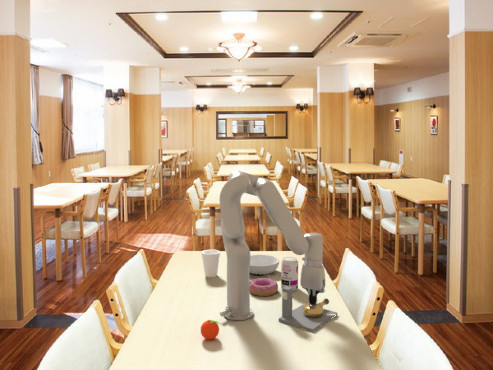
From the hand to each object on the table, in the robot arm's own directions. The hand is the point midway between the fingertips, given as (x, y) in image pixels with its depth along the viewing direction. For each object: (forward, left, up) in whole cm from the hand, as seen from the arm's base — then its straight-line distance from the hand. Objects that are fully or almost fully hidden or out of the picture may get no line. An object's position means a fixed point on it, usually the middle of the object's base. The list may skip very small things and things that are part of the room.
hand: (312, 303), depth 193 cm
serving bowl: (+27, +49, -3) cm, 56 cm away
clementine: (-47, +16, -3) cm, 49 cm away
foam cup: (+6, +66, -3) cm, 66 cm away
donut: (+4, +30, -3) cm, 31 cm away
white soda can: (+15, +22, -3) cm, 27 cm away
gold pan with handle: (-2, -4, -1) cm, 5 cm away
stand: (-9, -3, -3) cm, 10 cm away
